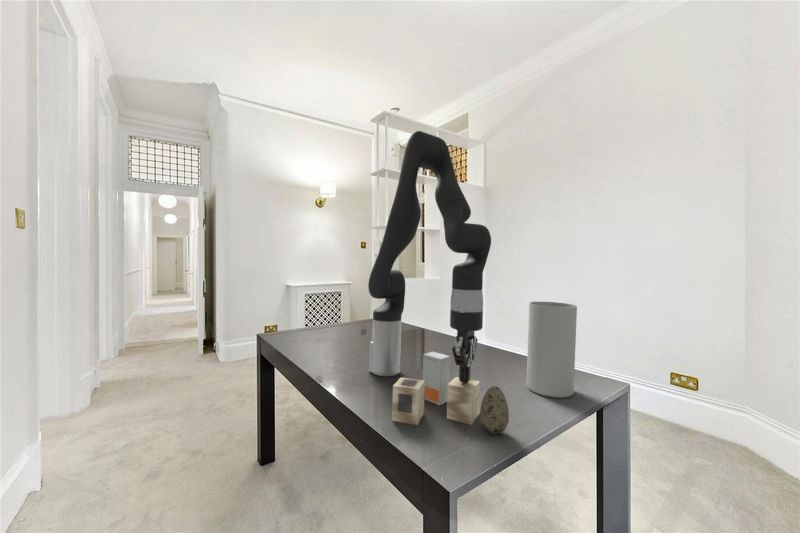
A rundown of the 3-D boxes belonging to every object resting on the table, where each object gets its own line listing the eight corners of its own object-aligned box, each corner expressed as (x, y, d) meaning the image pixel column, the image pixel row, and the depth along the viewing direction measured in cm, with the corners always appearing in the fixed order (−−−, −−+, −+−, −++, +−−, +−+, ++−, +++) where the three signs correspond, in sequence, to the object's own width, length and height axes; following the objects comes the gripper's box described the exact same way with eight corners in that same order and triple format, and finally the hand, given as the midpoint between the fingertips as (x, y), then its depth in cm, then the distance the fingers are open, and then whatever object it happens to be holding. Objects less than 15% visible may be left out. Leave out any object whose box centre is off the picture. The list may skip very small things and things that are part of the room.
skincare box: (421, 398, 88) (422, 353, 87) (431, 394, 91) (432, 350, 91) (439, 406, 84) (441, 359, 83) (449, 401, 87) (450, 355, 86)
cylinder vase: (584, 396, 92) (587, 307, 92) (546, 401, 89) (550, 307, 88) (551, 380, 104) (554, 301, 104) (517, 383, 101) (520, 301, 100)
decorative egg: (503, 426, 74) (505, 381, 74) (511, 440, 68) (513, 392, 68) (476, 425, 74) (478, 380, 74) (482, 439, 68) (484, 391, 68)
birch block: (446, 418, 77) (447, 384, 77) (454, 408, 83) (455, 376, 82) (472, 425, 75) (473, 389, 74) (478, 414, 80) (479, 381, 80)
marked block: (391, 420, 75) (392, 385, 75) (399, 409, 81) (400, 376, 81) (417, 425, 74) (418, 389, 73) (423, 413, 79) (424, 380, 79)
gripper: (459, 304, 86) (457, 370, 86) (441, 310, 74) (439, 387, 74) (488, 306, 82) (486, 376, 83) (475, 313, 71) (472, 394, 71)
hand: (464, 381), depth 78 cm, fingers closed
